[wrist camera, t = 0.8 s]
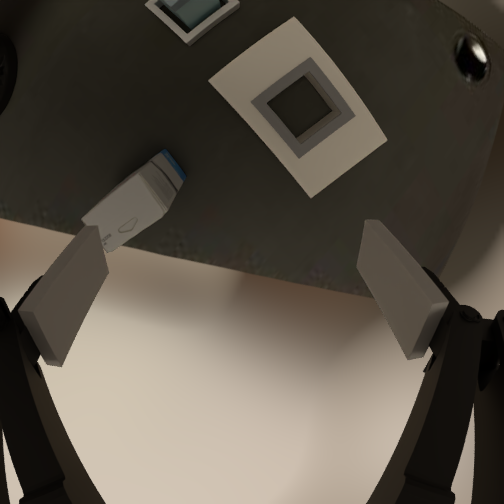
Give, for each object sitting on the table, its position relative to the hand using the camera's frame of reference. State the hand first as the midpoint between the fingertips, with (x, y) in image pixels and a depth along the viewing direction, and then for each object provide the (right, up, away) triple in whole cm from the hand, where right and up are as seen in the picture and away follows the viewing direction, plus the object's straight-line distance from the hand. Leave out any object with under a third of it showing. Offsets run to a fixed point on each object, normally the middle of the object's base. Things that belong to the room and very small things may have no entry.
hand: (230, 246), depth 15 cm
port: (+7, +17, +20) cm, 27 cm away
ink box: (-12, +9, +23) cm, 28 cm away
